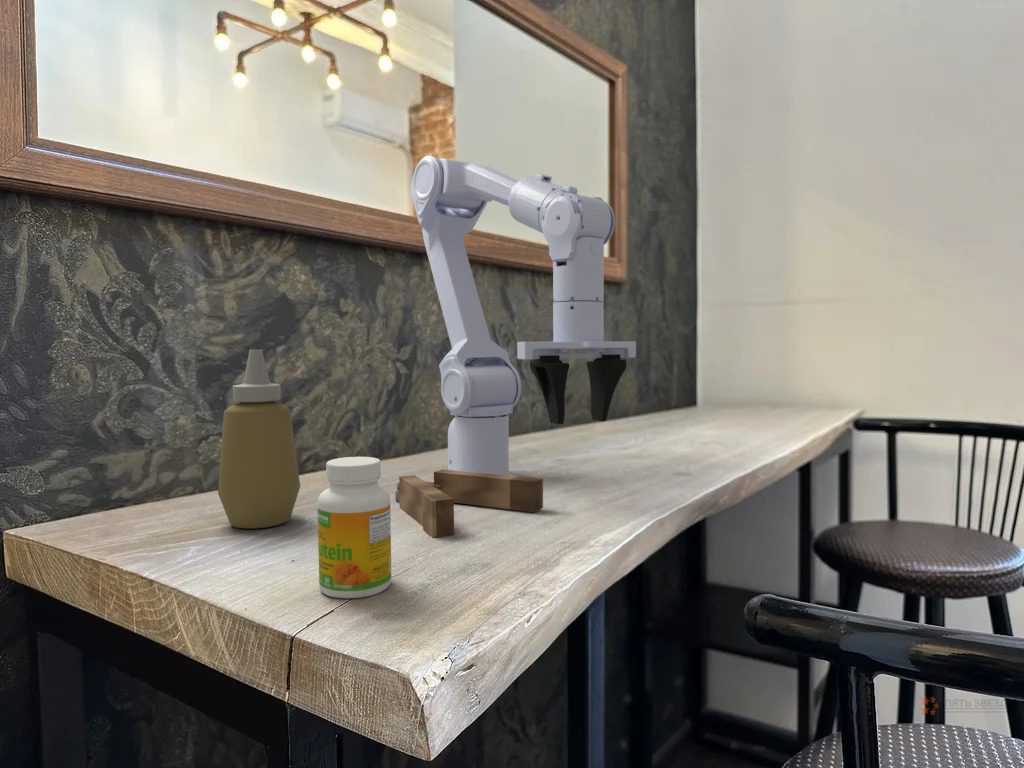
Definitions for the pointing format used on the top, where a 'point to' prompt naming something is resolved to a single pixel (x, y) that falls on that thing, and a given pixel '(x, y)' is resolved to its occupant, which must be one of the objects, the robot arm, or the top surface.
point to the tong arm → (490, 489)
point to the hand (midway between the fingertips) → (578, 421)
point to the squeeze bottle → (258, 452)
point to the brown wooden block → (426, 505)
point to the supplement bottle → (354, 530)
